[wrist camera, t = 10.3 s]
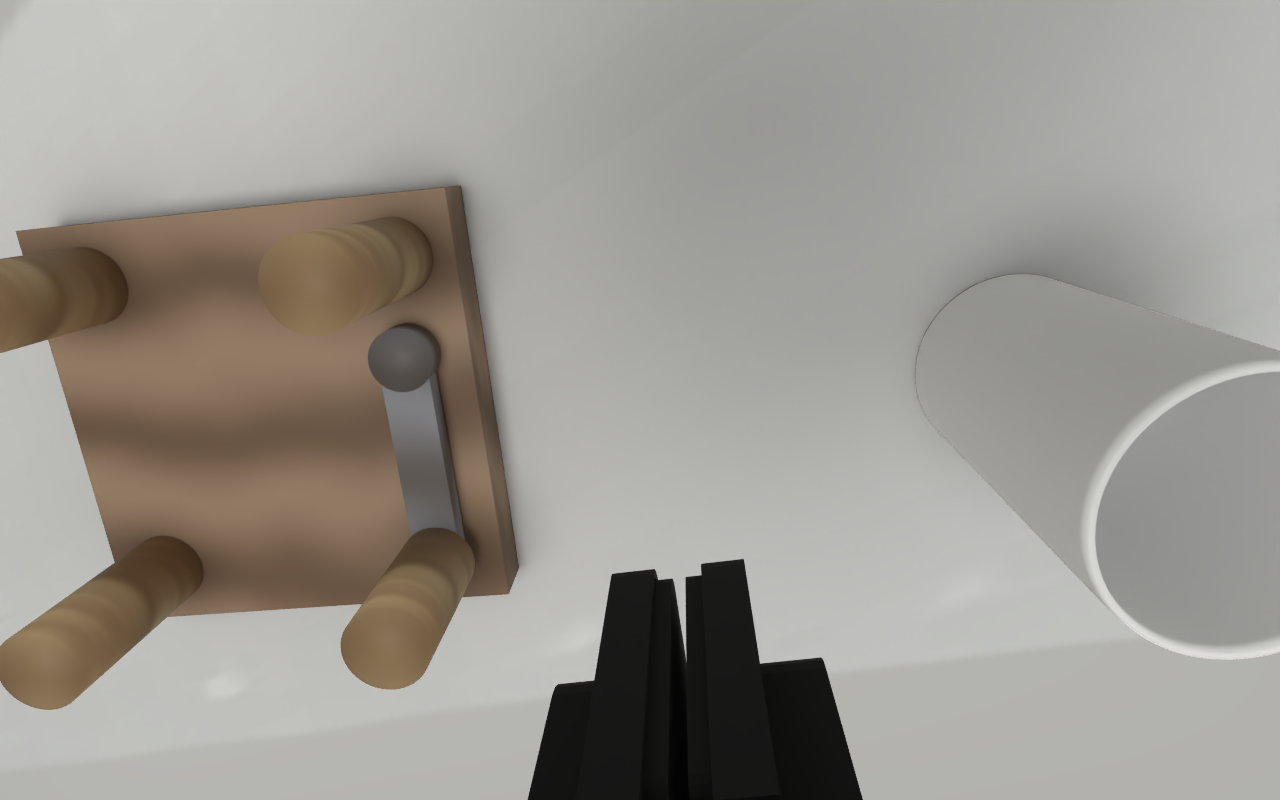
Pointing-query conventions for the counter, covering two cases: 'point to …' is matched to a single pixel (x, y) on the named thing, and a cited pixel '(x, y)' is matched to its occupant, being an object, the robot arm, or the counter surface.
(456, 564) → the hinged leg
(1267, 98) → the counter surface
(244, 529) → the stool seat
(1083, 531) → the cup
